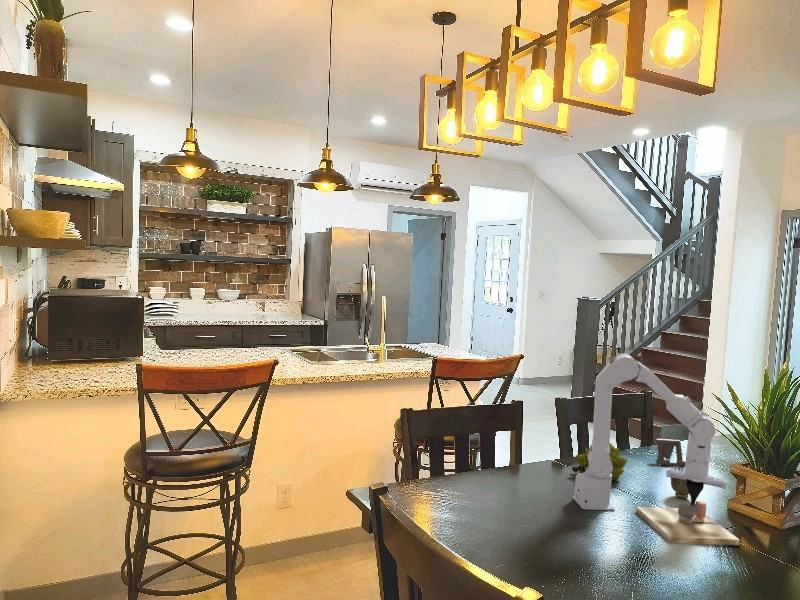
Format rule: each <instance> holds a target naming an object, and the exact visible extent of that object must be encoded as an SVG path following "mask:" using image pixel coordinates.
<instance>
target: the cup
mask: <svg viewBox="0 0 800 600" xmlns="http://www.w3.org/2000/svg"><path fill="white" fill-rule="evenodd" d="M670 469H675V470H684V471H685V468H681V467H678V469H677V468H676V467H675V468H674V467H673V468H670ZM686 481H687V480H683V479H678V478H673V477H670V485H671V488H672V490H673V491H674V492H675V493H674V495H675V497H676V498H678V499H680V500H687V499H688V498H689V497H690V494H689V491H688V488H687V485H686Z"/></svg>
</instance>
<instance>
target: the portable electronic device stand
mask: <svg viewBox="0 0 800 600" xmlns="http://www.w3.org/2000/svg"><path fill="white" fill-rule="evenodd" d="M653 441H654V444H655V445H656V446H657V448H656V449H657V457H656V459H657V458H658V459H659V460H658V465H659V464H661V465H666V466H665V467H674V466H679V467H678V468H685V462H686V460H685V461H684V460H683V459H684V458H683V450H682V445H681V444H682V443H681V440H680V439H669V438H654V440H653ZM674 449H675V453H676V462H671V461H670V460H671V457H672V454H673V451H674ZM666 459H669V460H666Z"/></svg>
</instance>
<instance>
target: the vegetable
mask: <svg viewBox="0 0 800 600" xmlns="http://www.w3.org/2000/svg"><path fill="white" fill-rule="evenodd" d="M609 445H610V461H611V463H612V466H613V469H612V472H611V474H612V481H615V480H616V481H617V480H618V479H620V477H621V475H622V474H623V473H624V472H625V469H624V467H625V466H626V464H627V461H628V459H627V458H624V457H623V456H621V455H620V449H619V447H615V445H613V444H612V443H611V442H610V443H609ZM591 446H592V444H590V445H589V448H586V447H585V448H584V449H585V450H584V452H585V453H583V454H576V458H577V461H578V466H572V467H571V469H572V472H574V473H577V472H579V473H584V472H585V471H586V469H587V468H588V467H589V461H588V458H587V456H588V452H589V451H590V449H591Z"/></svg>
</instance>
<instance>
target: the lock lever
mask: <svg viewBox="0 0 800 600" xmlns="http://www.w3.org/2000/svg"><path fill="white" fill-rule="evenodd" d="M677 508H678V514H680V515H682V516H684V517H689V518H692V517H694V516H696V517H699V518H705V515H707V514H706V512H707V503H706V502H704V501H700V500H697V501H695V504H694V505H690V504H687V503H678V506H677Z"/></svg>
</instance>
